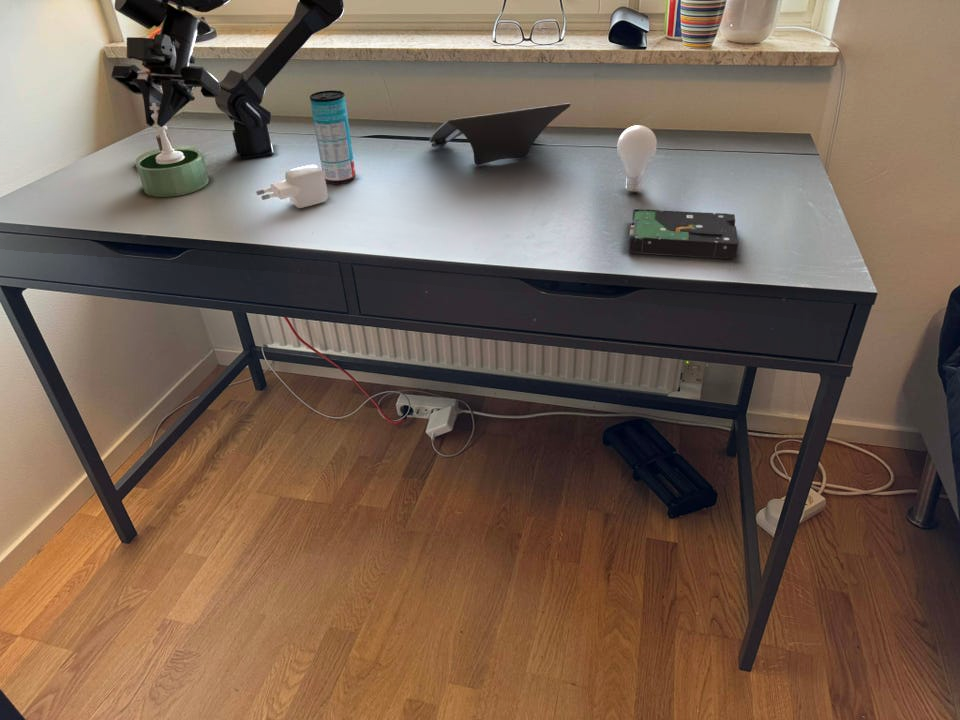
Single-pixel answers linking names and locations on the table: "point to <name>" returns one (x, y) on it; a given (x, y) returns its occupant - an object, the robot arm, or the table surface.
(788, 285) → the table surface
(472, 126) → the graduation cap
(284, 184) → the power adapter
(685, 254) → the disk drive
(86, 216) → the table surface
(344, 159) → the beverage can
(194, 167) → the tin
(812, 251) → the table surface
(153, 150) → the tin lid
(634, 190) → the lightbulb
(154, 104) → the chess piece
